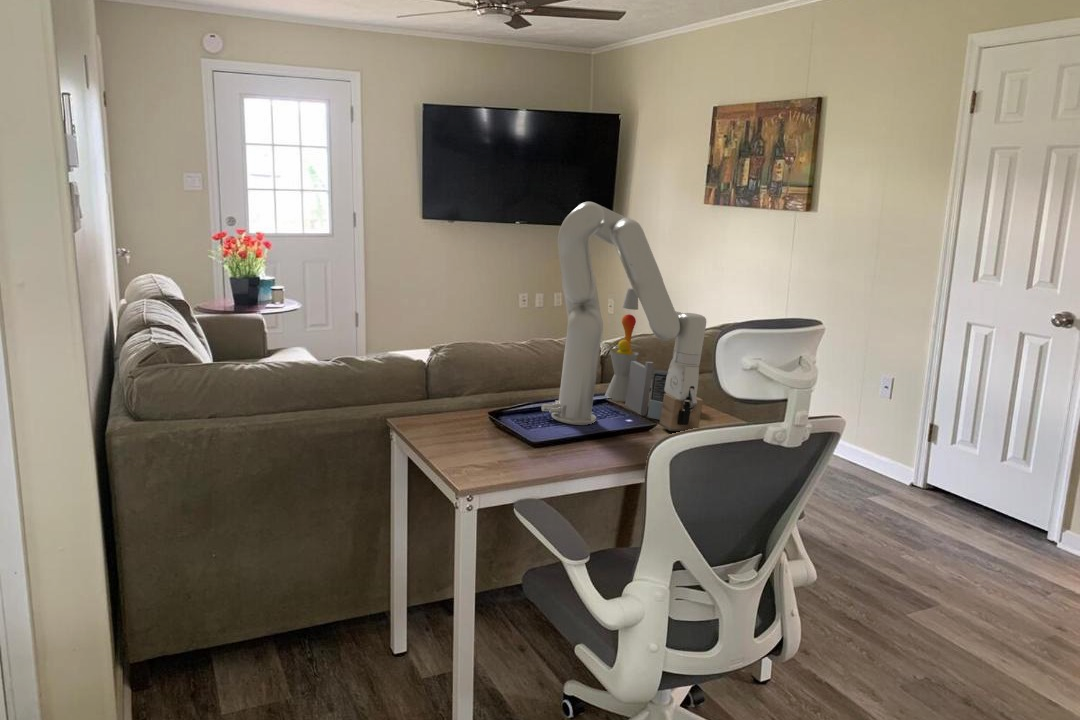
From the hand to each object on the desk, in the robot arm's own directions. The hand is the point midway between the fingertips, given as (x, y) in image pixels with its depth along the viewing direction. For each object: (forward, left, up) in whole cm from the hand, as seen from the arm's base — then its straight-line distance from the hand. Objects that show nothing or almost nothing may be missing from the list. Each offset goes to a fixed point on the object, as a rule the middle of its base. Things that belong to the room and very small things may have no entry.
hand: (676, 420), depth 227 cm
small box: (+12, +25, -3) cm, 28 cm away
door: (+3, +7, -3) cm, 8 cm away
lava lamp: (-1, +33, -3) cm, 34 cm away
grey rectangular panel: (-2, +20, -3) cm, 20 cm away
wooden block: (+1, 0, -2) cm, 2 cm away
